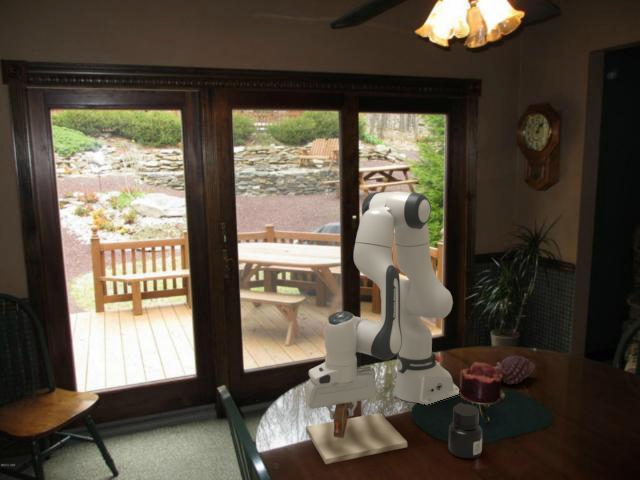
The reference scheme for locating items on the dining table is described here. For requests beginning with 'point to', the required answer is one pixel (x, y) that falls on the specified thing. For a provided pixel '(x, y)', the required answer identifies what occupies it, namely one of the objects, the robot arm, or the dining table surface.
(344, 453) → the birch board
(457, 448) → the ink bottle
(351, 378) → the robot arm
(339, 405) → the tin
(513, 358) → the pine cone
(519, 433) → the dining table surface
